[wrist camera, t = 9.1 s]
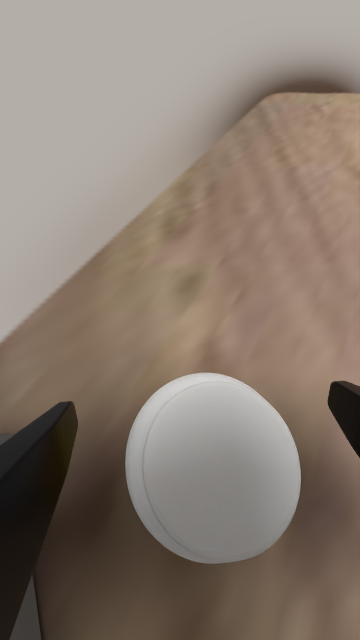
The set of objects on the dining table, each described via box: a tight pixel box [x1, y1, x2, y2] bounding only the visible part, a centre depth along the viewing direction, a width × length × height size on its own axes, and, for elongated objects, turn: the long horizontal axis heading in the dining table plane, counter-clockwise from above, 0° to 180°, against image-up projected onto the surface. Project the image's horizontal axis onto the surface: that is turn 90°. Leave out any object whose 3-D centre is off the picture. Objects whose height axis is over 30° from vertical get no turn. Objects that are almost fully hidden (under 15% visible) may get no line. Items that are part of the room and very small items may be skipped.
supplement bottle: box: [125, 373, 301, 564], centre depth 11 cm, size 6×6×10 cm
